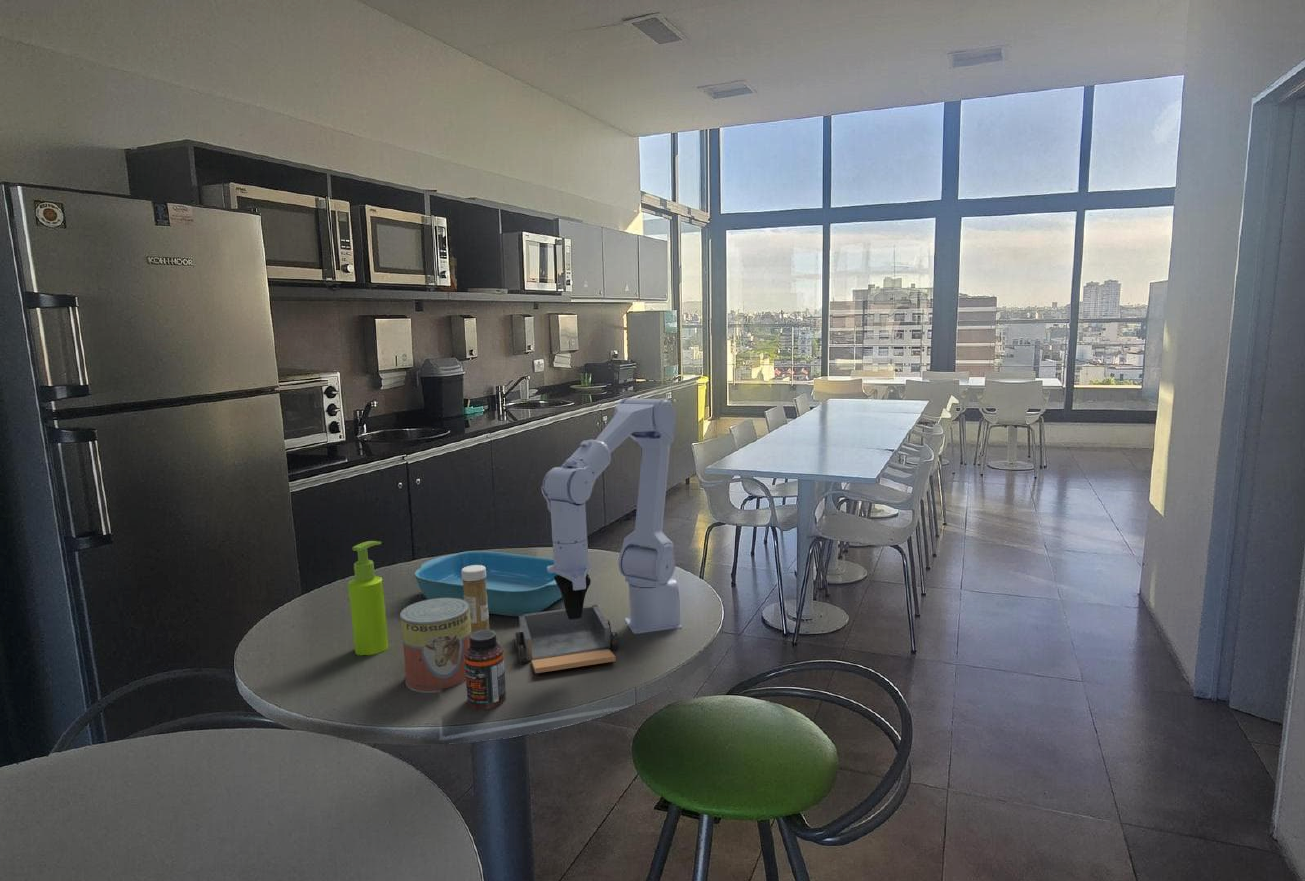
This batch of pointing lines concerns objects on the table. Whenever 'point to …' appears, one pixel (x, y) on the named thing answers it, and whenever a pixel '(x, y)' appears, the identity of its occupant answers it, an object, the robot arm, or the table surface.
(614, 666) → the table surface
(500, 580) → the casserole dish
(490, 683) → the supplement bottle
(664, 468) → the robot arm
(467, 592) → the sprinkles bottle
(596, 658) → the panel
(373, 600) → the soap dispenser
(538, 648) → the trailer
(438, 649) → the canned food
